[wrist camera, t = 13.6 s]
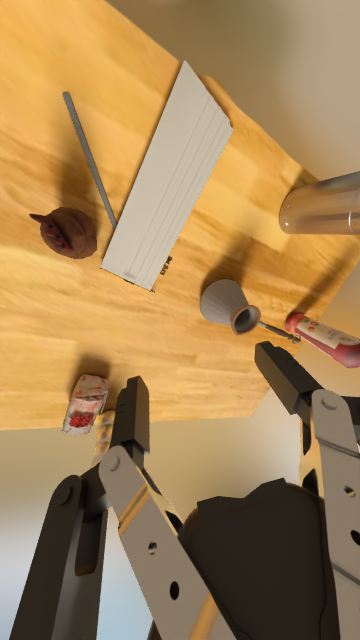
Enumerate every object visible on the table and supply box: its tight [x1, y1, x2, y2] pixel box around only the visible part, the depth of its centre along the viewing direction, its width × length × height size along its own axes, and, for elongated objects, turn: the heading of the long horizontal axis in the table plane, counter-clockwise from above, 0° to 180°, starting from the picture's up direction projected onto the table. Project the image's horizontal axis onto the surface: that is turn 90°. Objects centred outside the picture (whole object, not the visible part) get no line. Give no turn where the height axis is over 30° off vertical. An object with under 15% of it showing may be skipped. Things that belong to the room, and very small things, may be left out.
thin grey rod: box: [63, 93, 117, 232], centre depth 27 cm, size 1×19×1 cm, turn 13°
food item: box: [62, 374, 109, 435], centre depth 41 cm, size 14×8×10 cm, turn 153°
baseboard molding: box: [101, 60, 233, 293], centre depth 29 cm, size 31×3×12 cm
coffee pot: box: [200, 279, 301, 344], centre depth 39 cm, size 21×12×15 cm, turn 65°
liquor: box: [286, 313, 360, 368], centre depth 43 cm, size 7×7×28 cm
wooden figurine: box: [29, 207, 97, 259], centre depth 23 cm, size 7×6×15 cm
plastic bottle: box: [90, 410, 115, 469], centre depth 43 cm, size 6×7×20 cm
